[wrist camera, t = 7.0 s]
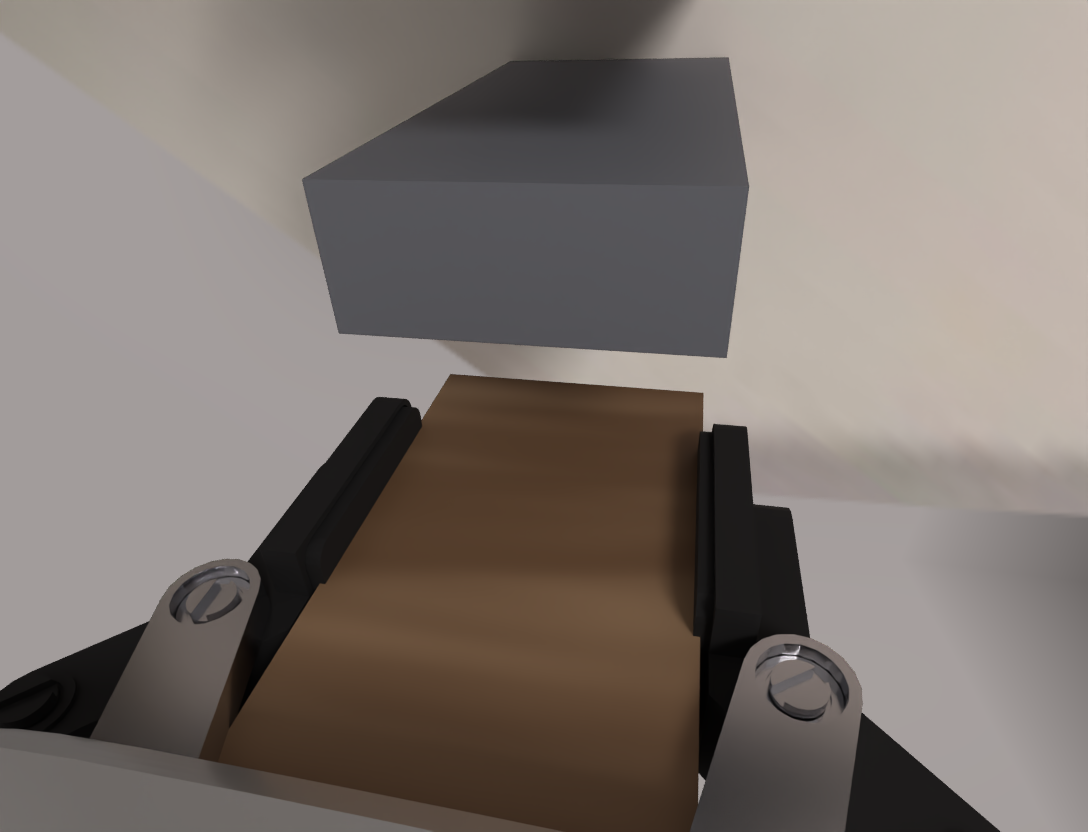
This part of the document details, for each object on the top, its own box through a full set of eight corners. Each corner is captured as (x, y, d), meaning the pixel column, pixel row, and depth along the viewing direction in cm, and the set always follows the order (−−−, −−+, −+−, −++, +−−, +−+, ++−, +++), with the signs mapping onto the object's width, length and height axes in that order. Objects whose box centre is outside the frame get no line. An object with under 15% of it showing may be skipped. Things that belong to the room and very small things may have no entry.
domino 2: (450, 373, 14) (64, 991, 5) (703, 392, 13) (693, 1170, 5) (460, 453, 15) (154, 1062, 7) (694, 475, 14) (672, 1217, 6)
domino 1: (510, 61, 16) (302, 178, 8) (728, 57, 15) (748, 187, 7) (515, 150, 17) (338, 333, 9) (719, 151, 16) (726, 357, 8)
